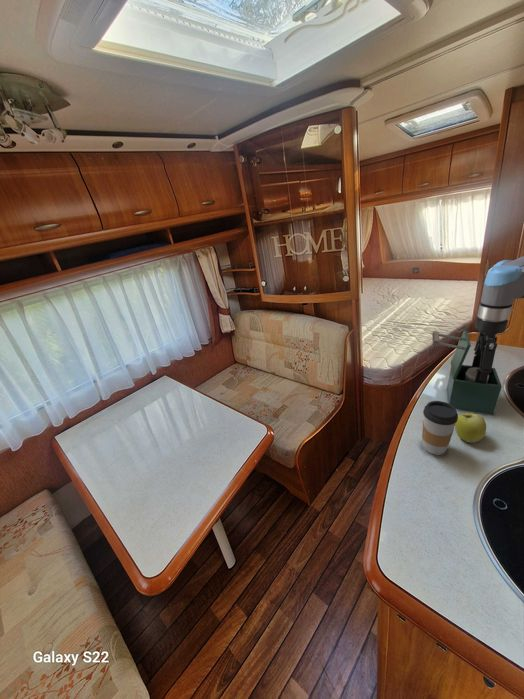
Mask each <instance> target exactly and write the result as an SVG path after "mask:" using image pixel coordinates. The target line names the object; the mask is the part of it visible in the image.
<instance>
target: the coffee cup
mask: <svg viewBox="0 0 524 699" xmlns="http://www.w3.org/2000/svg"><path fill="white" fill-rule="evenodd" d="M457 411H458V410H457V409H455V408H454V407H453V406H452V405H450V404H448V402H446V401H442V400H432V401H429V402H427V403H426V405H424V407H423V411H422V412H423V420H422V433H421V438H422V439H421V444H422V447H423V449H424V450H425V451H426V452H427V453H429V454H432V455H437V456H440V455H443V454H445V453H446V452H447V449H448V446H449V445H450V442H451V439H452V437H453V433H454V430H455V423H456V422H457V420H458V416H459V414H458V412H457Z"/></svg>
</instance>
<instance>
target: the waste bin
mask: <svg viewBox="0 0 524 699" xmlns="http://www.w3.org/2000/svg"><path fill="white" fill-rule="evenodd" d="M469 368H472V365H467V364H462V366H461V368H460V371H459V373H458V375H457V377H456V379H453V377H452V369H451V368H450V369H449V375H448V380H447V385H446V398H447V403H448V404H450V405H452V406H453V407H454V408H455V409H456V410H459V411H464V412H465V411H466V412H470V413H476V414H482V415H490V416H494V413H495V410H496V407H497V404H498V401H499V398H500V395H501V391H502V387H503V386H502V383H501V380H500V377H499V375H498V372H497V370H496V368H495V367H492V370H491V373H488V375H489V379H488V383H480V382H472V381H464V379H465V374H466V372H467V370H468V369H469Z"/></svg>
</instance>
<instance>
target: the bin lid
mask: <svg viewBox="0 0 524 699" xmlns="http://www.w3.org/2000/svg"><path fill="white" fill-rule="evenodd" d="M431 335H432V345H433V346H434V347H438V346H444V347H448V348H454V349H455V351H454V353H453V355H452V358H451V360H450V370H451V369H452V377H453V379H456V377H457V375H458V373H459V371H460V368H461V366H462V365H464V362H465V360H466V357H467V355H468V353H469V351H470V348H471V347H472V345H471V340H470V337H469V333H468V330H467V329H465V330H463V332H462V334H461V336H460V337H459V336H455V335H454V336H453V335H449V334H443V333H439V331H436V330H435V331H432V334H431ZM440 337H442V338H447V339H452V340H458V344H457V345H456V344H452V343H451V344H450V343H446V342H441V341H440Z"/></svg>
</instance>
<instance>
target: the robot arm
mask: <svg viewBox="0 0 524 699" xmlns="http://www.w3.org/2000/svg"><path fill="white" fill-rule="evenodd" d="M515 299H516V300H517V299H518V300H519V299H524V255H522V256H521V257H518V258H516V259H514V260H513V259H503V260H500V261H498V262H496V264H494V265H493V267H490V269H488V271H487V274H486V275H485V279H484V282H483V289H482V294H481V298H480V302H479V306H478V309H477V310H478V311H477V317H476V320H475V325H474V329H475V330H477V331H478V335H477V338H476V341H475V345H474V348H473V351H474V352H473V353H474V355H473V359H472V364H471V366H472V367H478V368H479V369H476V371H477V375H476V379H475V382H480V383H486V380H487V377H488V373H491V370H492V368H493V365H494V361H495V355H496V350H497V348H498V343H497V341H498V337H497V336H496V335H499V334H503V333H505V332H506V330H507V327H508V323H509V320H508V319H509V318H510V315H511V312H514V308H513V304H514V301H515Z"/></svg>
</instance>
